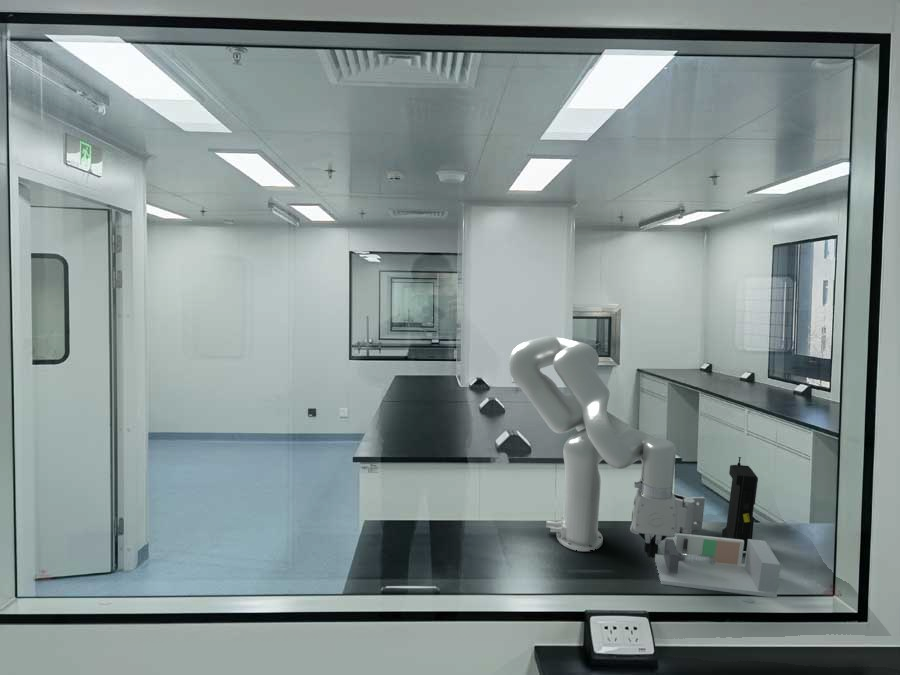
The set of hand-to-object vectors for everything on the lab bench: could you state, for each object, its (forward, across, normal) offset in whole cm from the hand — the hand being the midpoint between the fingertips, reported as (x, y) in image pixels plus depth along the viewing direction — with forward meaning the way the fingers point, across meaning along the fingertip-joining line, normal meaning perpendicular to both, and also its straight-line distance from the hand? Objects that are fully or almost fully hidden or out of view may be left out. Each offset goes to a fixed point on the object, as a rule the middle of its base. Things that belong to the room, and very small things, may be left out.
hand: (650, 554), depth 140 cm
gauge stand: (+4, +15, 0) cm, 16 cm away
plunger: (+2, +9, 0) cm, 10 cm away
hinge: (+4, +11, +23) cm, 26 cm away
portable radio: (+4, +25, +15) cm, 29 cm away
